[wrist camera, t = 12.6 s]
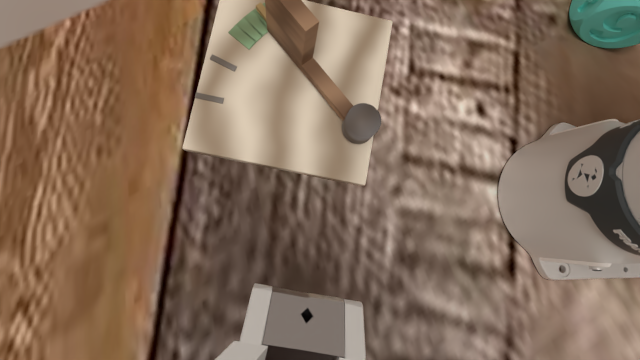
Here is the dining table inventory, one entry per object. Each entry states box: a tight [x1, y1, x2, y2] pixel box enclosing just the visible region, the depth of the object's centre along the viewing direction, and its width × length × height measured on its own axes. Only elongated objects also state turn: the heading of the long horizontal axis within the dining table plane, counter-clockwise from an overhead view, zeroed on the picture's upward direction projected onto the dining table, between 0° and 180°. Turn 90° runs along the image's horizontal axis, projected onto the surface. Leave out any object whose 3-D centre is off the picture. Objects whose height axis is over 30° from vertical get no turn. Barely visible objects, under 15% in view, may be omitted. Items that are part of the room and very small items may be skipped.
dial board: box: [183, 0, 393, 186], centre depth 41 cm, size 20×20×1 cm
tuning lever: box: [256, 0, 381, 144], centre depth 36 cm, size 19×4×8 cm, turn 40°
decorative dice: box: [569, 0, 640, 48], centre depth 43 cm, size 8×8×8 cm
